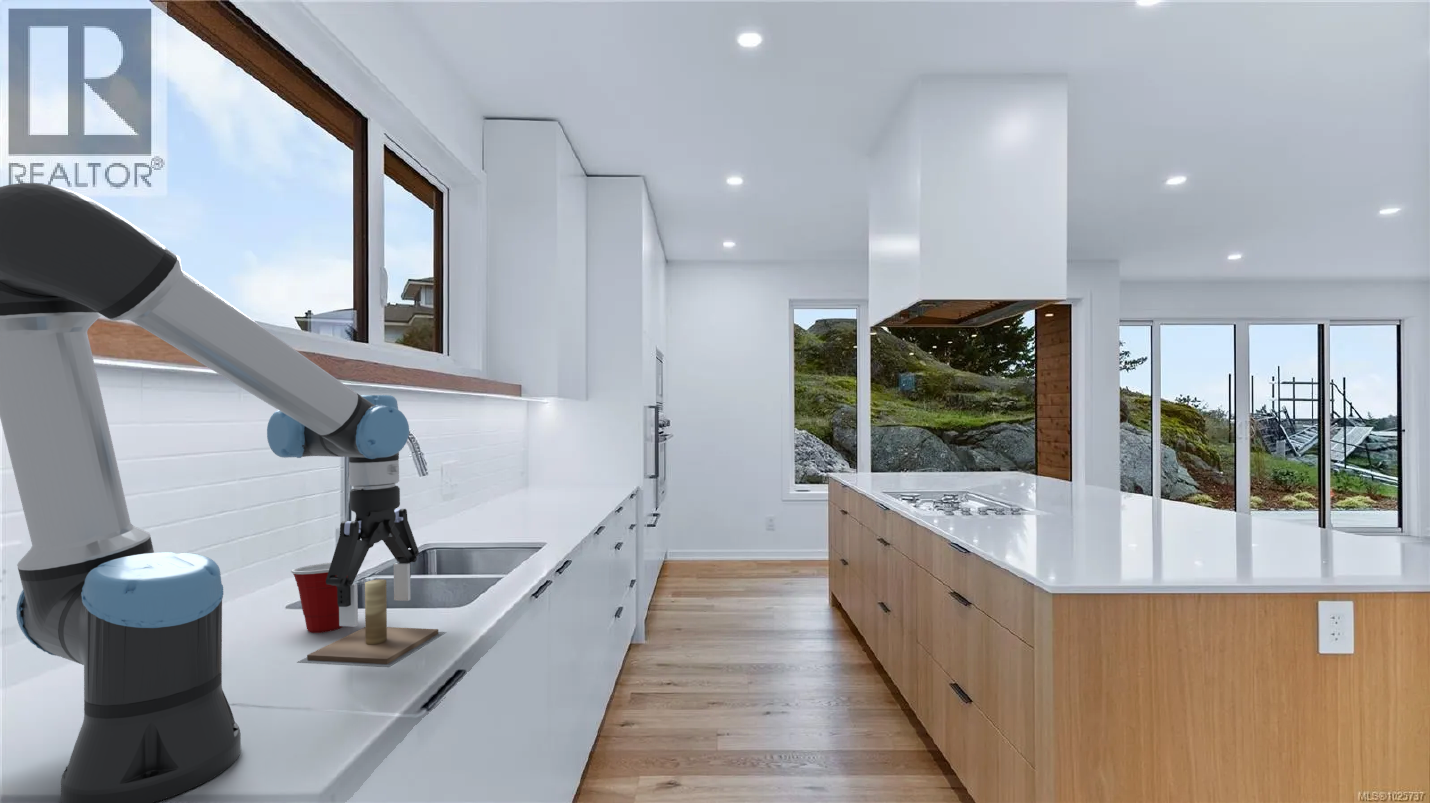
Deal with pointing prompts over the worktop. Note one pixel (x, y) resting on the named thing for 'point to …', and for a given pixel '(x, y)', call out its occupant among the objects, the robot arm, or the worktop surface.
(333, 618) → the plastic cup
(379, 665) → the charcoal mat
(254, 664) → the worktop surface
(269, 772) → the worktop surface
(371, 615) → the walnut lid
